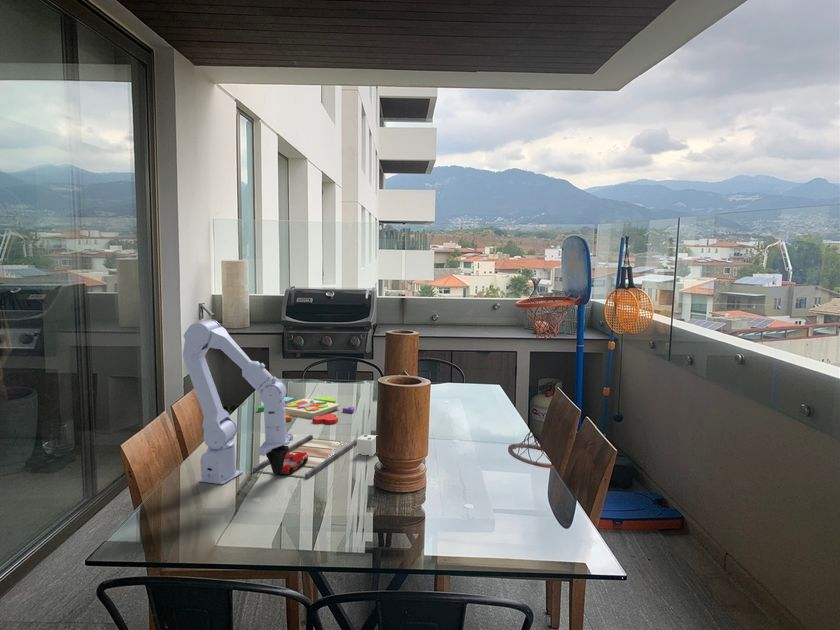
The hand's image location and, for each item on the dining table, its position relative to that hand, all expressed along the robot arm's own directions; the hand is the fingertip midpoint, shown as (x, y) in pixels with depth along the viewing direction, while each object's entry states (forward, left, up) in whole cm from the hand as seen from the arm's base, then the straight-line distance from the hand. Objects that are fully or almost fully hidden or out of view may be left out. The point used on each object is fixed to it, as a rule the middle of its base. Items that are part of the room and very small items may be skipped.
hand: (277, 472), depth 174 cm
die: (+26, -16, -1) cm, 30 cm away
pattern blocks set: (+66, +28, -2) cm, 72 cm away
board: (+18, 0, -1) cm, 18 cm away
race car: (+7, 0, -1) cm, 7 cm away
